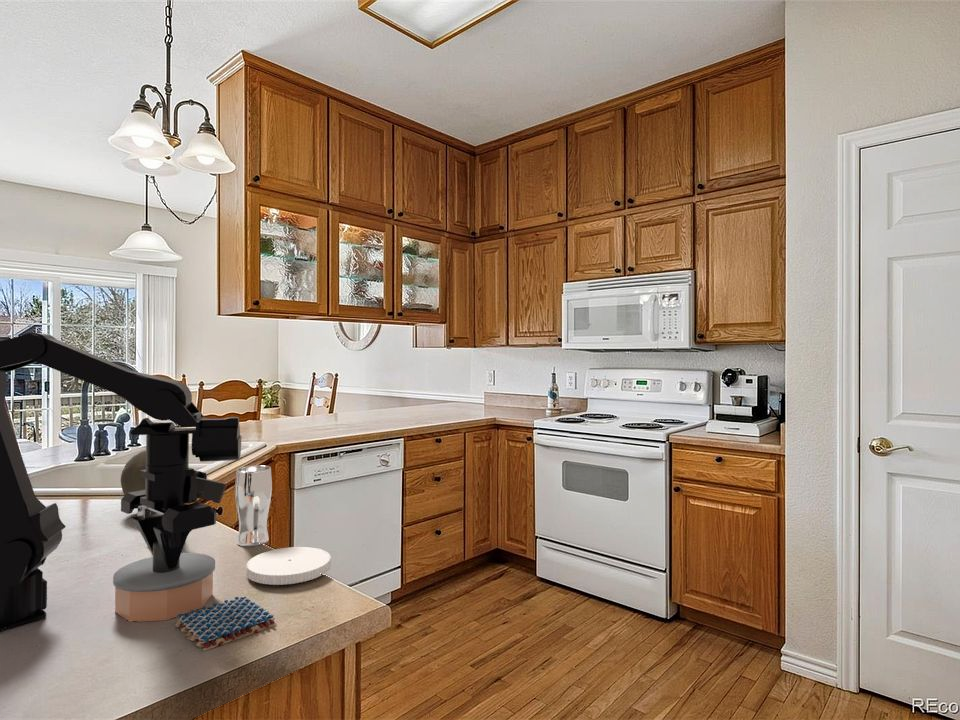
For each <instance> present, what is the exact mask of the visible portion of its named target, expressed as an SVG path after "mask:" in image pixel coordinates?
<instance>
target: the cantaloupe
mask: <svg viewBox="0 0 960 720" xmlns="http://www.w3.org/2000/svg"><path fill="white" fill-rule="evenodd" d="M141 470H146V450H144V451H141V452H140V451H139V453H137V454H136V455H133V456H132V457H131V458H130V459H129V460H128V461H127V462H126V464H125V465H124V468H123V469H122V471H121V474H120V486H121V490H122V493H123V495H124V496H125V495H126V494H127V493H129V492H135V491H141V490H146V478H142V477H140V472H141Z"/></svg>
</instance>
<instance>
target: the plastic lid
mask: <svg viewBox="0 0 960 720" xmlns="http://www.w3.org/2000/svg"><path fill="white" fill-rule="evenodd" d="M331 560H332V557H331V554H330V553H329V552H328V551H326V550H324V549H321V548H319V547H317V548H316V547H310V546H308V547H307V546H292V547H290V546H289V547H281V548H275V549H271V550H267V551H265V552H262V553H259V554H257V555H255V556H253V557H252V558H250V559H249V560H248V561H247V562H246V565H245V566H246V571H245V572H246V573H245V574H246V577H247V579H248V580H250V581H252V582H255V583H257V584H262V585H273V586H279V585H281V586H282V585H285V586H286V585H293V584H299V583H303V582H307V581H310V580H311V581H312V580H314V579H317V578H319V577H321V576H322V575H325V574H326V573H328V571H329V570H330V569H331V566H332V564H331V563H332V561H331ZM320 573H321V574H322V575H321V574H320Z"/></svg>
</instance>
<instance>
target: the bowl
mask: <svg viewBox="0 0 960 720" xmlns="http://www.w3.org/2000/svg"><path fill="white" fill-rule="evenodd" d="M114 587H115V586H114ZM213 587H214V571H213V572H212V573H211V574H210V575H209V576H207V577H205V578H204V579H201V580H199V581H197V582H194V583H191V584H188V585H185V586H181V587H177V588H173V589H167V590H161V591H151V592H132V591H125V590H121V589H118V588H116V587H115V591H114V592H115V593H114V594H115V599H114V613H116V614H118V615H119V616H120V617H121V618H123V619H124V620H126V621H127V620H128V621H127V622H129V623H134V622H133V621H138V622H157V621H168V620H171V618H172V619H175V618H177V617H179V616H178V614H183V615H185V613H186V614H189V613H191V612H190V611H192V610H195V611H198V610H201V609H202V607H205V604H206V603H207V602H208V601H209V599H210V598H211V597H212V596H213V593H214V589H213ZM200 608H201V609H200ZM197 609H198V610H197ZM188 612H189V613H188ZM174 617H175V618H174Z"/></svg>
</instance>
